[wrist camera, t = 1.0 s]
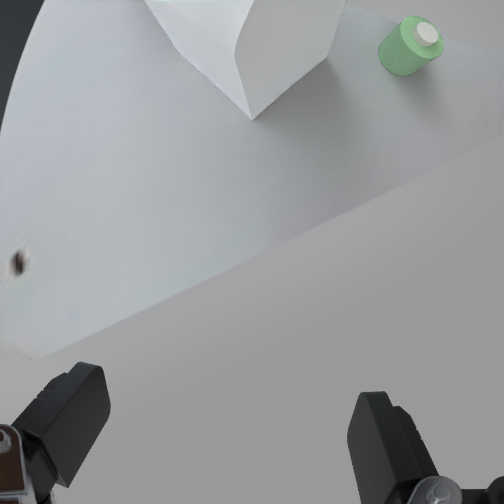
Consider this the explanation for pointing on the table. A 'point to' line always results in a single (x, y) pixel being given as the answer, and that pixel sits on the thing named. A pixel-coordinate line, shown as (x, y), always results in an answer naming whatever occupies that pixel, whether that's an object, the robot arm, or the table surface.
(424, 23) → the soap bottle
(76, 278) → the table surface
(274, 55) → the milk
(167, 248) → the table surface
